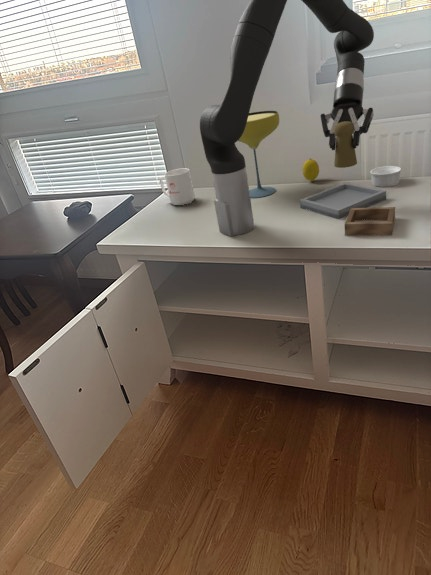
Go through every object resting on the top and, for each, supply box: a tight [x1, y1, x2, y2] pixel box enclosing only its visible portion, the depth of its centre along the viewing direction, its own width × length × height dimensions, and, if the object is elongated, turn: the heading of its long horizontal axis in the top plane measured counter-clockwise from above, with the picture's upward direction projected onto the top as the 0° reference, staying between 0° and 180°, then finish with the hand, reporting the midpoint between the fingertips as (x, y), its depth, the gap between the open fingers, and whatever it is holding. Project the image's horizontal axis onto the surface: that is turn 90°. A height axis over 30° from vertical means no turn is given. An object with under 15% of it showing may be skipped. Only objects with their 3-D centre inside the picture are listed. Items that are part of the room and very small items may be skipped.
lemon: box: [302, 158, 320, 182], centre depth 148 cm, size 6×6×8 cm
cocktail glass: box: [237, 110, 280, 199], centre depth 143 cm, size 18×18×25 cm
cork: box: [333, 121, 358, 169], centre depth 115 cm, size 6×6×11 cm
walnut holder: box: [344, 206, 396, 236], centre depth 108 cm, size 11×11×3 cm
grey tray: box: [299, 182, 387, 220], centre depth 125 cm, size 18×16×2 cm
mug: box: [158, 167, 196, 206], centre depth 154 cm, size 12×9×11 cm
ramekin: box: [369, 165, 402, 188], centre depth 134 cm, size 9×9×4 cm
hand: (343, 147), depth 114 cm, fingers closed on cork, 5 cm apart
